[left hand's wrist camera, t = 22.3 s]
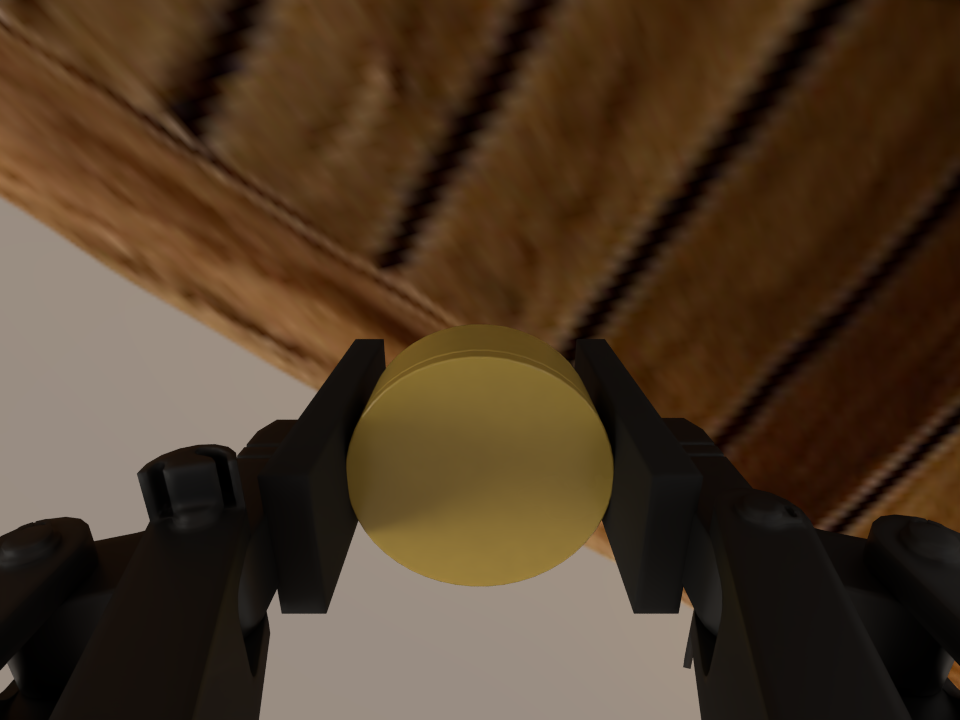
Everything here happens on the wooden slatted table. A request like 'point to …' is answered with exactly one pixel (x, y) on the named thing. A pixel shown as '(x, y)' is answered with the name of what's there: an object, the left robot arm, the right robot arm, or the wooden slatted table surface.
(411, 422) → the lid
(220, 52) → the wooden slatted table surface
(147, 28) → the wooden slatted table surface
